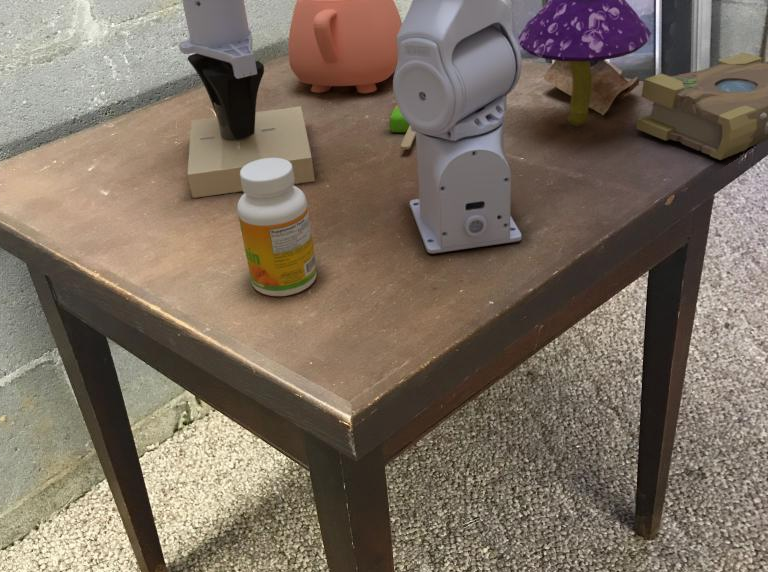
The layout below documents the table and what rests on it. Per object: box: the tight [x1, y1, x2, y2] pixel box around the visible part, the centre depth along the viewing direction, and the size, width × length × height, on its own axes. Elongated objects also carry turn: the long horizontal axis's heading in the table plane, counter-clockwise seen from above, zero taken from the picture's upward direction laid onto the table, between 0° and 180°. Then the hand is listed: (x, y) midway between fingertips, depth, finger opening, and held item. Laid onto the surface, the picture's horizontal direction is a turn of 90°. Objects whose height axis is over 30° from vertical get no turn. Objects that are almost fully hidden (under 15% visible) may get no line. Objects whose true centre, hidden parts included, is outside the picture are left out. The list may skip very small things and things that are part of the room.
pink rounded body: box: [288, 0, 403, 94], centre depth 104 cm, size 13×20×12 cm, turn 164°
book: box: [636, 52, 768, 161], centre depth 85 cm, size 15×11×5 cm
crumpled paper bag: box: [542, 60, 641, 116], centre depth 96 cm, size 6×12×8 cm
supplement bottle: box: [236, 158, 318, 297], centre depth 68 cm, size 5×5×10 cm
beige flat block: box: [186, 105, 316, 199], centre depth 90 cm, size 14×12×3 cm
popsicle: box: [389, 103, 416, 150], centre depth 93 cm, size 6×15×2 cm, turn 168°
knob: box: [214, 98, 255, 140], centre depth 89 cm, size 4×4×4 cm
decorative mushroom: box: [517, 0, 652, 127], centre depth 85 cm, size 12×12×15 cm
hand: (237, 128), depth 90 cm, fingers closed on knob, 3 cm apart
